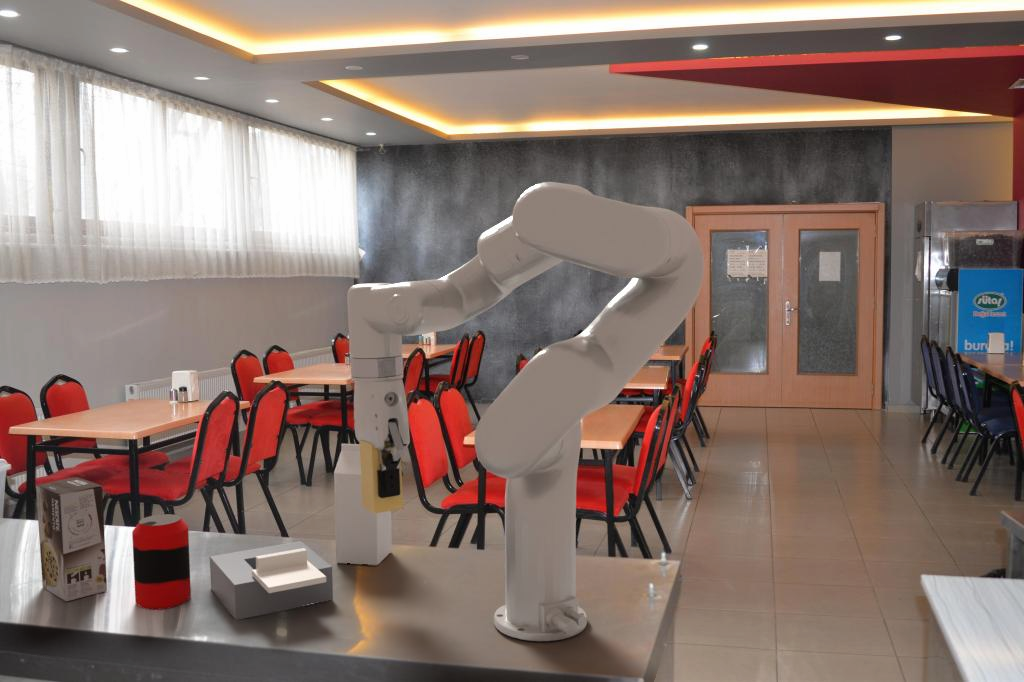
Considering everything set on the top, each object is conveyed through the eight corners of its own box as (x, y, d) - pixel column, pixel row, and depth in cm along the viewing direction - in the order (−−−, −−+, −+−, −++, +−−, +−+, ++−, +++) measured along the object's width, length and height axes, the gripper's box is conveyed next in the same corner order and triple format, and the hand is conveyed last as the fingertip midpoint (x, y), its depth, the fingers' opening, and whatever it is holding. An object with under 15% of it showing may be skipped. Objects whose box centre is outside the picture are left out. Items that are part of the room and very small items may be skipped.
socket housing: (332, 600, 136) (332, 566, 136) (235, 620, 129) (234, 584, 129) (301, 571, 148) (300, 541, 148) (210, 588, 141) (209, 556, 141)
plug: (403, 508, 137) (399, 427, 136) (374, 513, 134) (370, 430, 133) (390, 502, 141) (387, 423, 140) (362, 507, 138) (358, 426, 137)
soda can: (123, 606, 135) (119, 524, 133) (161, 588, 142) (158, 510, 140) (165, 613, 132) (162, 530, 131) (202, 594, 139) (199, 515, 138)
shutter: (326, 582, 129) (325, 562, 129) (268, 593, 125) (268, 572, 125) (307, 565, 136) (306, 546, 136) (251, 575, 132) (251, 556, 132)
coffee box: (109, 591, 140) (104, 485, 139) (65, 603, 136) (59, 493, 134) (83, 576, 147) (78, 475, 145) (40, 587, 142) (34, 483, 140)
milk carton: (377, 566, 151) (375, 450, 149) (335, 563, 152) (333, 448, 150) (391, 552, 158) (389, 441, 156) (351, 550, 159) (349, 439, 157)
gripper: (425, 371, 130) (430, 500, 132) (377, 362, 145) (382, 478, 146) (375, 376, 127) (381, 509, 128) (331, 366, 141) (337, 485, 143)
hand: (382, 491), depth 137 cm, fingers closed on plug, 4 cm apart
